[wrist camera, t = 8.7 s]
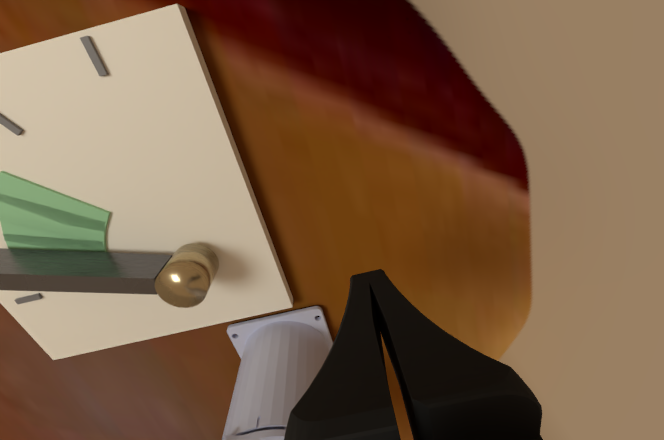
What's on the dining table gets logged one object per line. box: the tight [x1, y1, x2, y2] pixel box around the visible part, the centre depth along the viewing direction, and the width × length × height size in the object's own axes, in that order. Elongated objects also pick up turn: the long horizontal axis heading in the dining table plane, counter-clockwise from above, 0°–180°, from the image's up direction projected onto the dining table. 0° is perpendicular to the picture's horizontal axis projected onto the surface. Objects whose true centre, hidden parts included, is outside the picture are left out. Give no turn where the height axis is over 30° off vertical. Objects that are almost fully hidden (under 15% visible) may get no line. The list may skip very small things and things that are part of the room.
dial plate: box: [0, 4, 293, 360], centre depth 21 cm, size 20×20×1 cm
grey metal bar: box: [0, 243, 219, 308], centre depth 20 cm, size 14×3×3 cm, turn 85°
